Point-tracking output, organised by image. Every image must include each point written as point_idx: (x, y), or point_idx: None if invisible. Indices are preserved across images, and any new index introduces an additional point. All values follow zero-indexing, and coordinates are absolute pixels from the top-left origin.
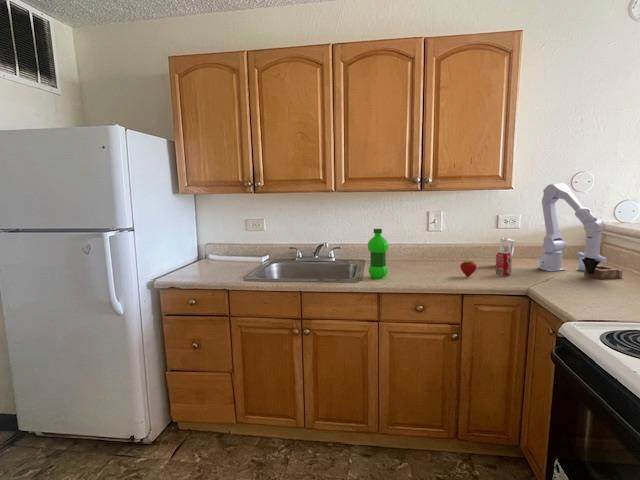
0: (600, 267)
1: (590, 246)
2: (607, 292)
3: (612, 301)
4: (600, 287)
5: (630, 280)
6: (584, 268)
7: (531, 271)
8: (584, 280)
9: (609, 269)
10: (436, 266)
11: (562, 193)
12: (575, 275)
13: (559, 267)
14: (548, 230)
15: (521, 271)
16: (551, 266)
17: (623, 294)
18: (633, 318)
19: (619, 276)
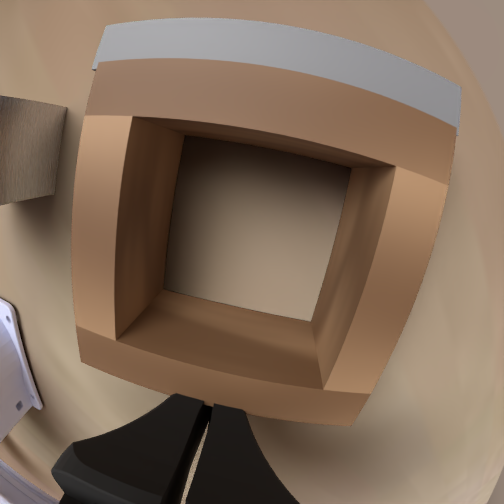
0: (140, 140)
1: None
2: (443, 481)
3: (459, 498)
4: (410, 474)
5: (490, 154)
6: (29, 198)
7: (48, 443)
8: (286, 459)
9: (387, 268)
10: None
11: None
12: (147, 398)
13: (6, 354)
14: None
15: (52, 459)
16: (13, 399)
17: (488, 453)
18: (487, 500)
19: None
